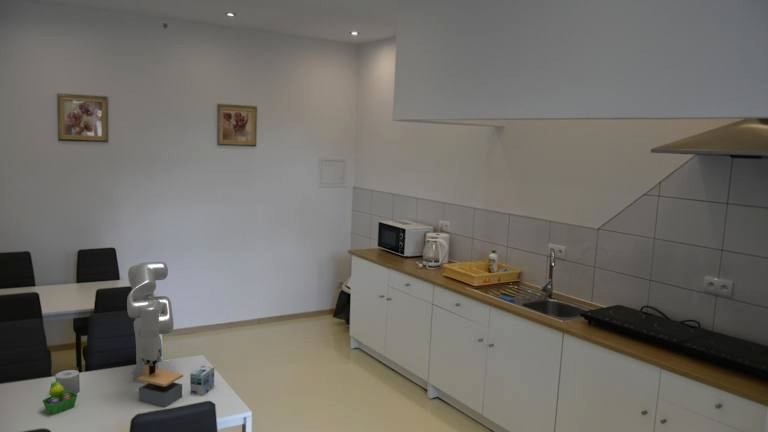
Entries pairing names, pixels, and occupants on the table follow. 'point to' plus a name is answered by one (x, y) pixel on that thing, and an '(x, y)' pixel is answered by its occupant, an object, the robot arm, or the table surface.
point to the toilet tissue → (69, 380)
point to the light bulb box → (202, 380)
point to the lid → (159, 376)
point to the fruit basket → (59, 399)
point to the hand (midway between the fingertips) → (150, 372)
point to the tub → (160, 394)
